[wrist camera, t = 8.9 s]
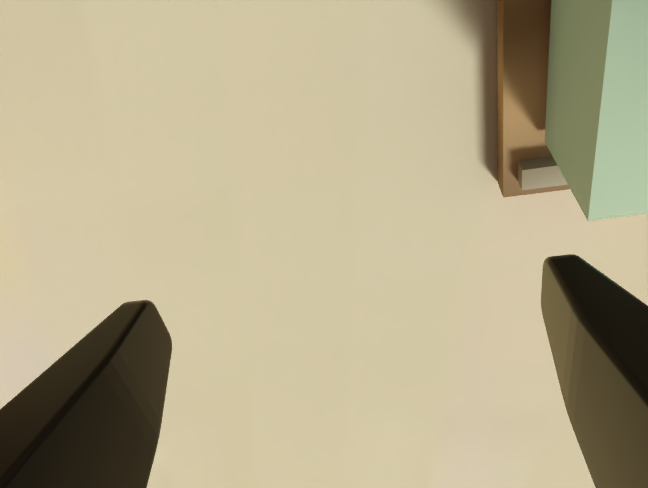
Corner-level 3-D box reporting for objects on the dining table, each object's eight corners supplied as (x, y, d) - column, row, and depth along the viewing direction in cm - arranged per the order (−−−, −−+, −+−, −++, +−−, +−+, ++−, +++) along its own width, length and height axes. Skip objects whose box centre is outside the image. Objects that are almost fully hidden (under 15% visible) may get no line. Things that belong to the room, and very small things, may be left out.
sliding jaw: (625, 130, 18) (690, 208, 14) (544, 141, 18) (587, 220, 15) (667, -157, 13) (776, -145, 10) (557, -134, 14) (624, -114, 10)
